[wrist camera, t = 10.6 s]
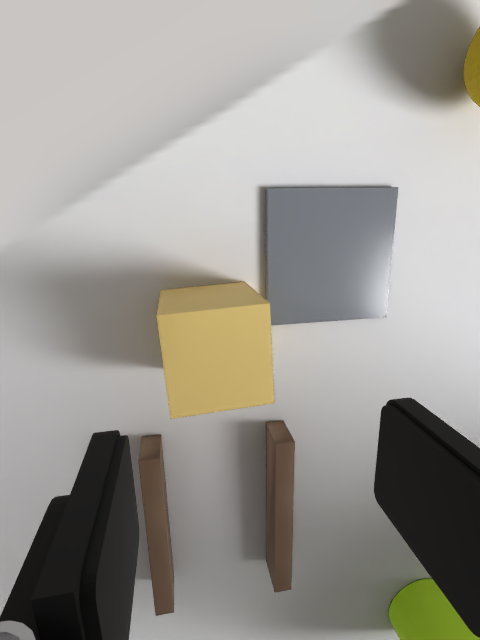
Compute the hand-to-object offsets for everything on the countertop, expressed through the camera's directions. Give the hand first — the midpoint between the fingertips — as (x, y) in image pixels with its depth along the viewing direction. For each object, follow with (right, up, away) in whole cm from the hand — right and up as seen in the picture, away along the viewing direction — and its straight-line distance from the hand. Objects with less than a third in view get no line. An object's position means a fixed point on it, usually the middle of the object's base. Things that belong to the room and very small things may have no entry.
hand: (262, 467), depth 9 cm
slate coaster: (+5, +8, +13) cm, 16 cm away
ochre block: (-3, +3, +13) cm, 14 cm away
